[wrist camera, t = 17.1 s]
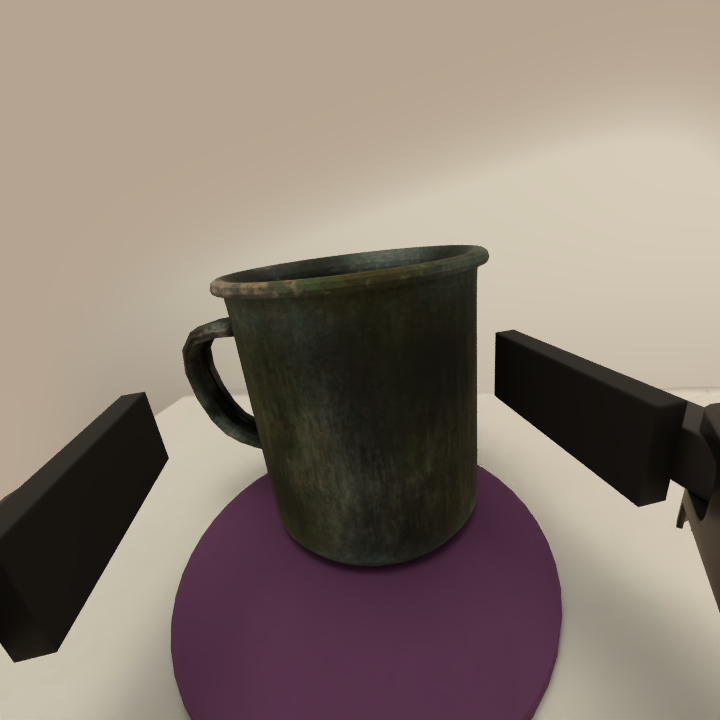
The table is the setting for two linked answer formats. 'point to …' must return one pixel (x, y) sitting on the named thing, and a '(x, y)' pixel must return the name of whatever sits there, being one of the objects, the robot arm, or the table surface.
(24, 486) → the robot arm
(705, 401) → the table surface
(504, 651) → the place mat
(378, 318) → the mug
